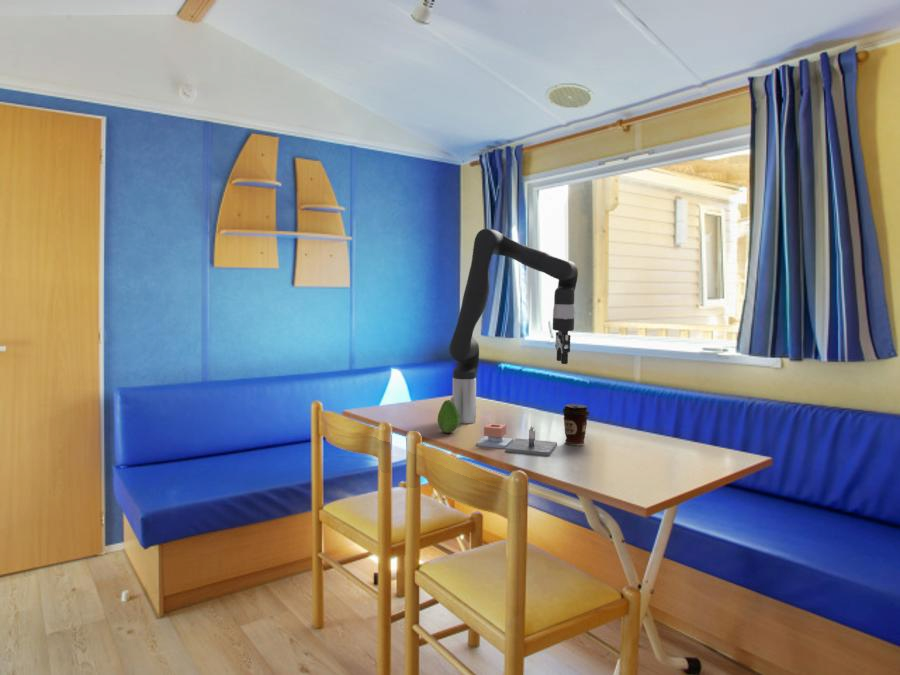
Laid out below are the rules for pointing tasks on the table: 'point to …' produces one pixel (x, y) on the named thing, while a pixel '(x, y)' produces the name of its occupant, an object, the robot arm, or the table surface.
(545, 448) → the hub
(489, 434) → the salmon square frame
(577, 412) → the coffee cup
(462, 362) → the robot arm
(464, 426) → the table surface
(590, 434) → the table surface
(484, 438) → the stand
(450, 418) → the avocado
